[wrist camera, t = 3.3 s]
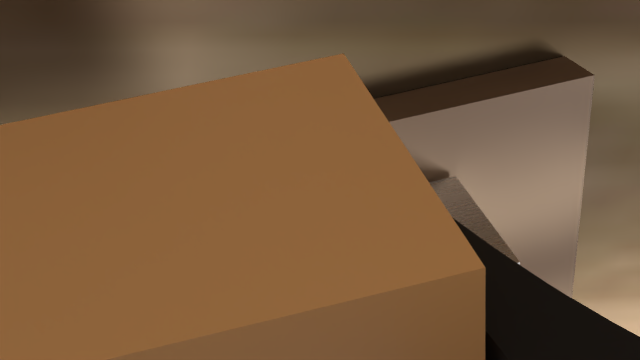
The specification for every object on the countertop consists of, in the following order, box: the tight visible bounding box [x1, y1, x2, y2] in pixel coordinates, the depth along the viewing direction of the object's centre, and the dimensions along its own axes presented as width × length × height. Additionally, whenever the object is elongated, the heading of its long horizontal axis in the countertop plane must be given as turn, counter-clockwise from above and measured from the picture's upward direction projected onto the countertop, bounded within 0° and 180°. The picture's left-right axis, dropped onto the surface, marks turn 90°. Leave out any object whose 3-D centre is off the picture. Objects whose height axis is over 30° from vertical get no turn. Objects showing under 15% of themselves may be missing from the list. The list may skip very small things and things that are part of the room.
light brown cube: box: [0, 54, 486, 360], centre depth 8 cm, size 5×5×5 cm
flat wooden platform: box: [374, 56, 594, 298], centre depth 18 cm, size 11×20×4 cm, turn 99°
